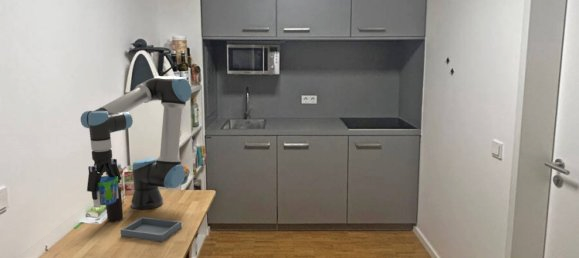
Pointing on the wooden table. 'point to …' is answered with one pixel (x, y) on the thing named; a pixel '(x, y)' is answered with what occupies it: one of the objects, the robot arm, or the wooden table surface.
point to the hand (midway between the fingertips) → (106, 202)
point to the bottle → (115, 209)
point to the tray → (151, 229)
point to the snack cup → (108, 190)
